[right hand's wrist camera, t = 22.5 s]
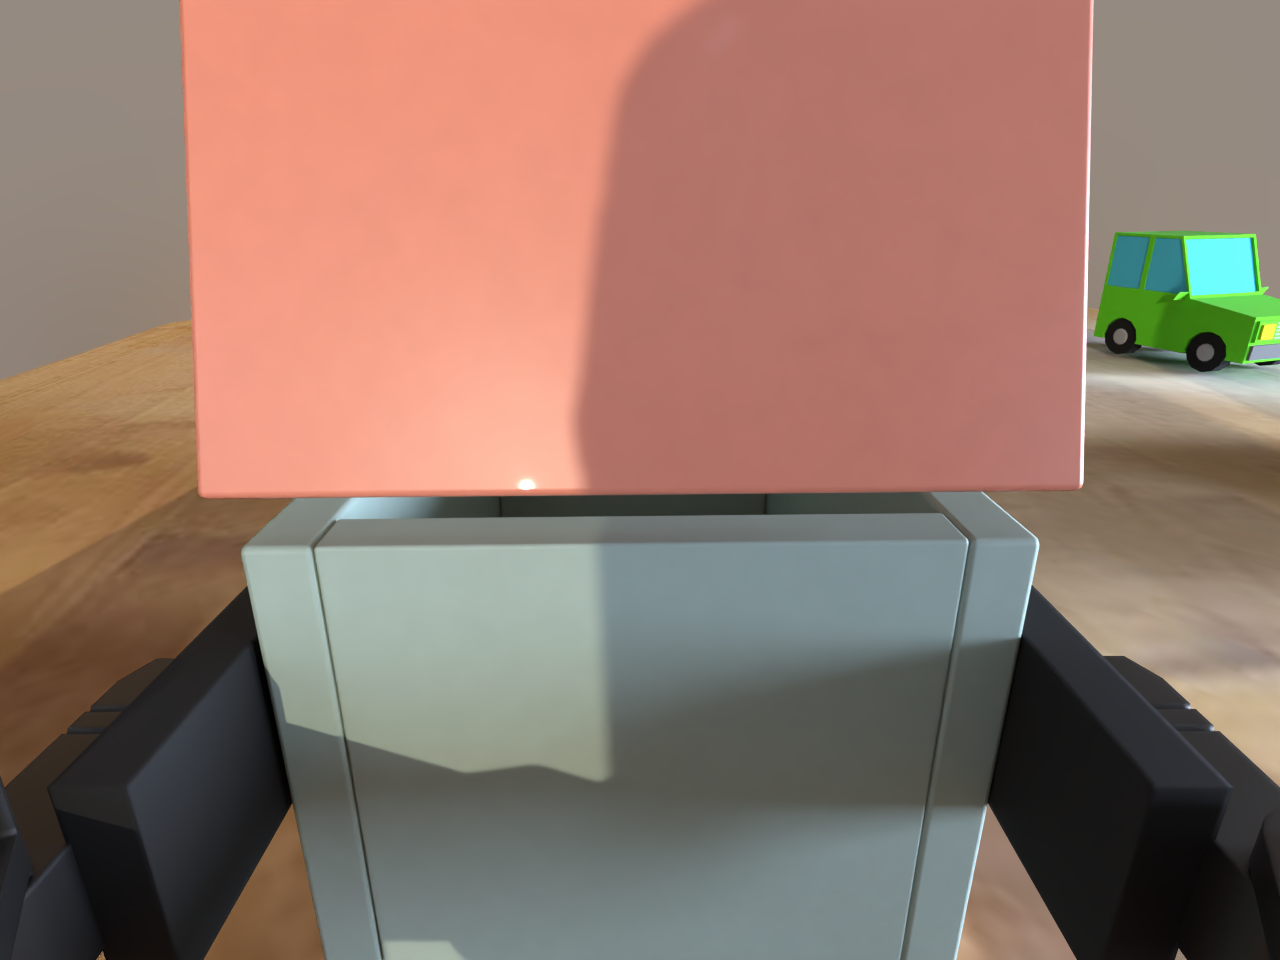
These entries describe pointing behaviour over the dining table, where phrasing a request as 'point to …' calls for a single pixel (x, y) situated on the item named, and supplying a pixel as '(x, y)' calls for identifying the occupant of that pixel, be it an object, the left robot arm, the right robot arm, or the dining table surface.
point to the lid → (637, 246)
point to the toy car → (1189, 298)
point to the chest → (641, 719)
